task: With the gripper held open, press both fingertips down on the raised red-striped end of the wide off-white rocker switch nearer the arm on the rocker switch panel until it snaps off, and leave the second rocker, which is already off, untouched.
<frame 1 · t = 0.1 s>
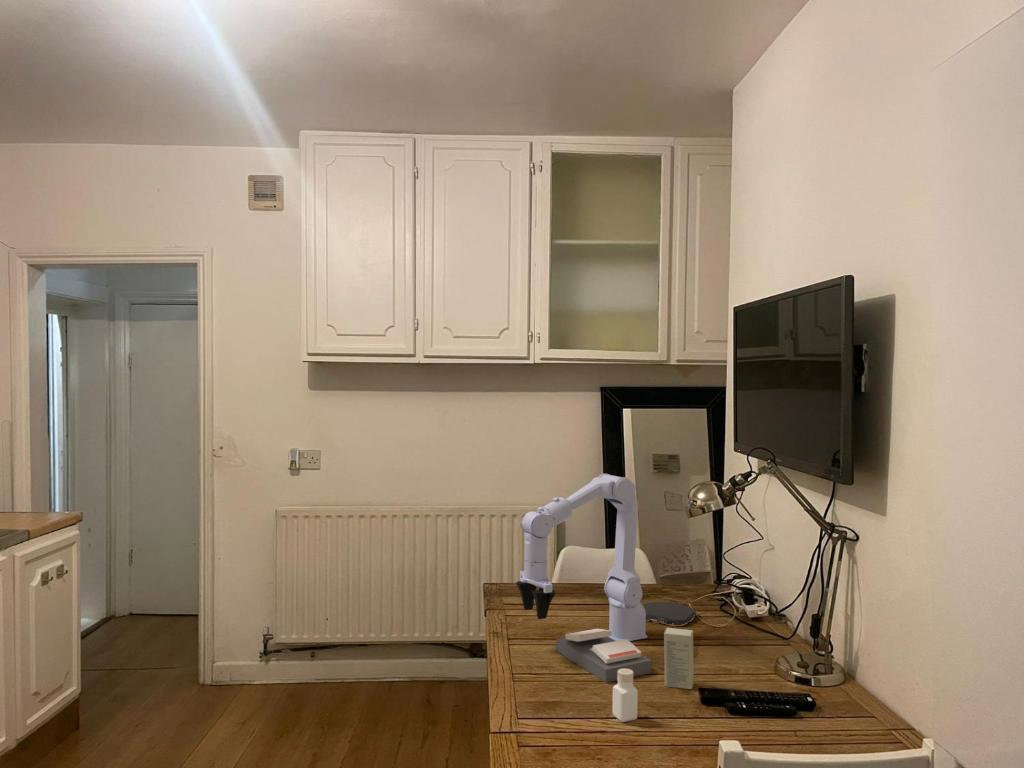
hand: (535, 613, 183), 10 cm above the table, tool pointing down, fingers open, 7 cm apart
rocker switch panel: (601, 661, 179), on the table
skincare box: (678, 685, 166), on the table
rocker b: (616, 651, 173), point 5 cm above the table, hinge at -12.0°
rocker a: (588, 634, 184), point 5 cm above the table, hinge at 12.0°
white pill bottle: (624, 718, 149), on the table
media streaming box: (667, 619, 214), on the table
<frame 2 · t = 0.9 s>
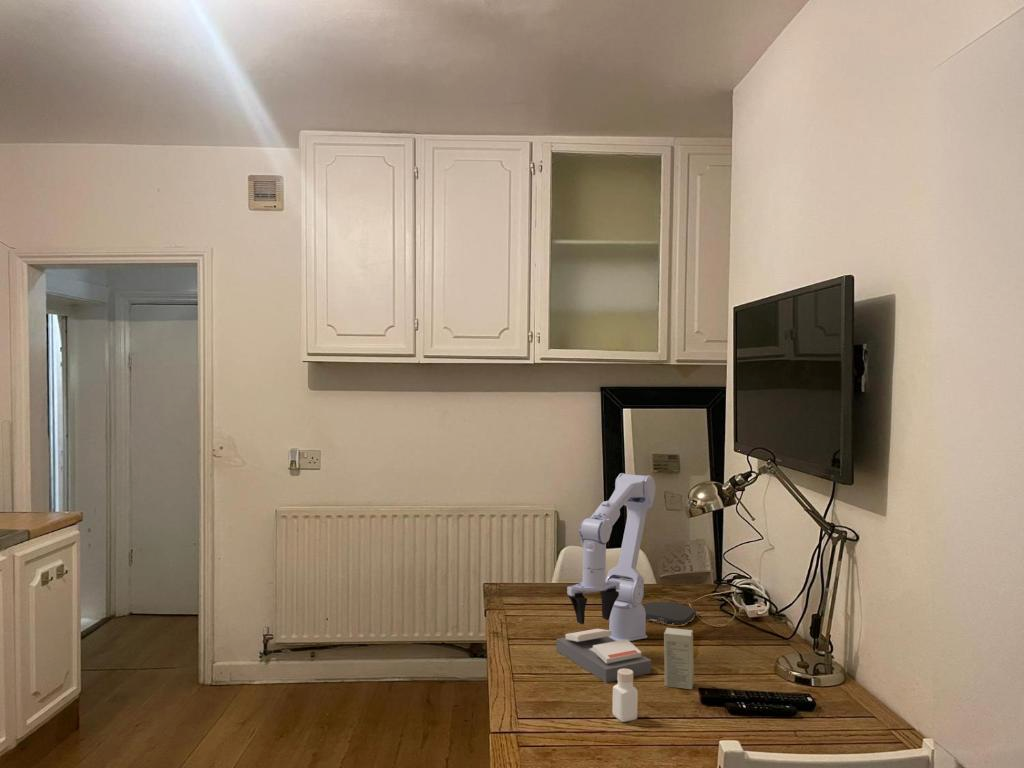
hand: (593, 620, 182), 9 cm above the table, tool pointing down, fingers open, 7 cm apart
nothing on the table moved.
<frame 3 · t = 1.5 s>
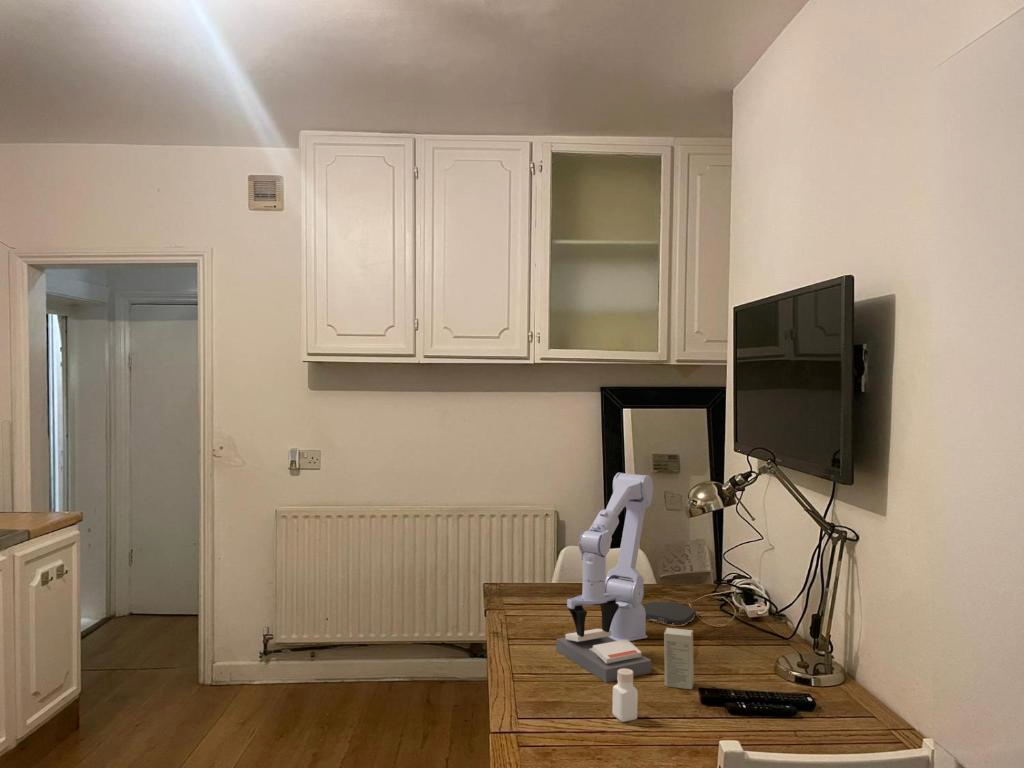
hand: (593, 633, 182), 6 cm above the table, tool pointing down
rocker a: (588, 634, 184), point 5 cm above the table, hinge at 12.0°, touching gripper
everything else where it was.
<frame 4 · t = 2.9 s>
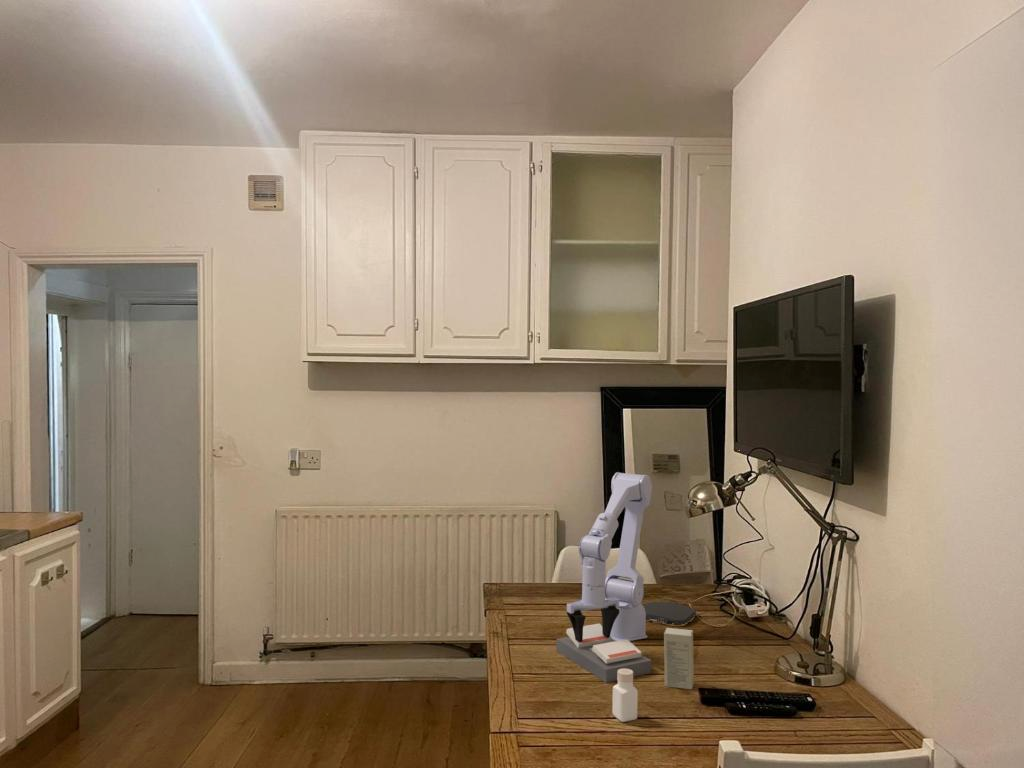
hand: (592, 638, 182), 5 cm above the table, tool pointing down
rocker a: (589, 635, 184), point 5 cm above the table, hinge at -19.5°, touching gripper, rocker switch panel
everything else where it was.
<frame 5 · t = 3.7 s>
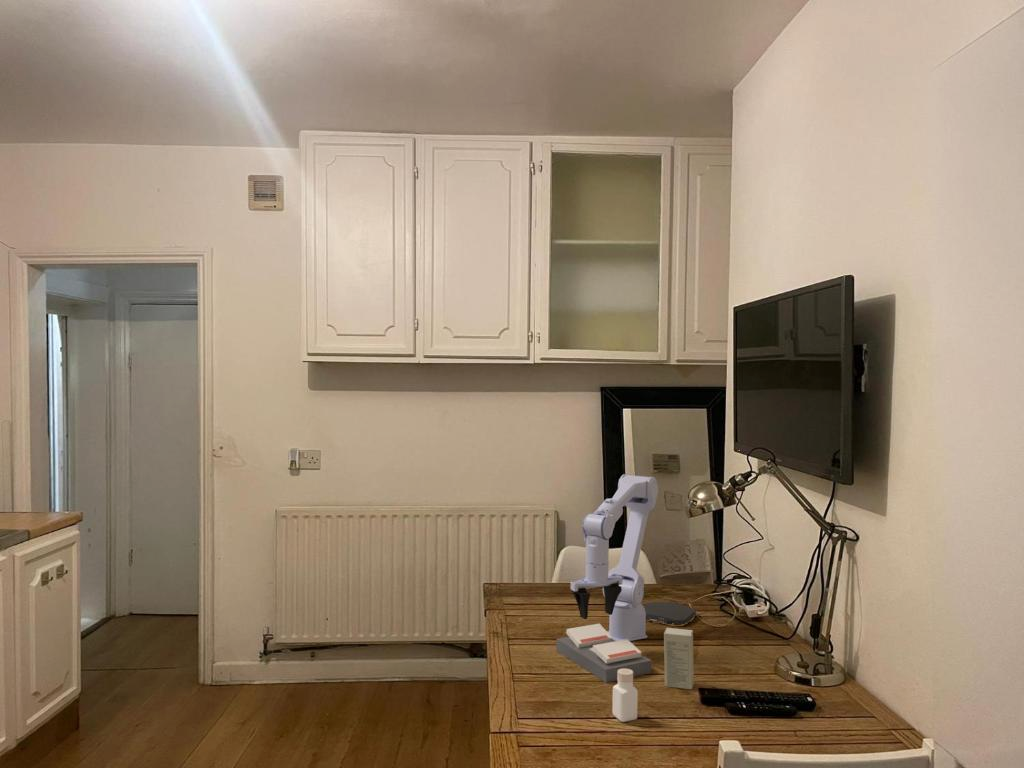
hand: (596, 615, 184), 10 cm above the table, tool pointing down, fingers open, 7 cm apart
rocker a: (589, 635, 184), point 5 cm above the table, hinge at -18.5°
everything else where it was.
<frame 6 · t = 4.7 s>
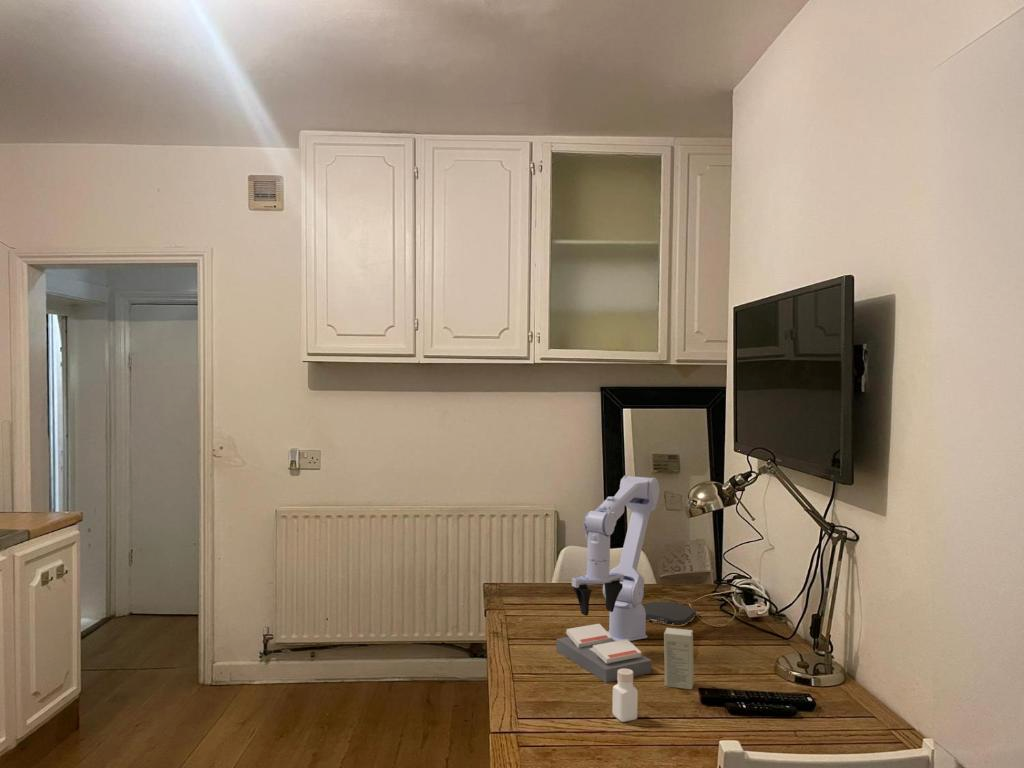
hand: (597, 612, 184), 10 cm above the table, tool pointing down, fingers open, 7 cm apart
rocker a: (589, 635, 184), point 5 cm above the table, hinge at -18.1°
everything else where it was.
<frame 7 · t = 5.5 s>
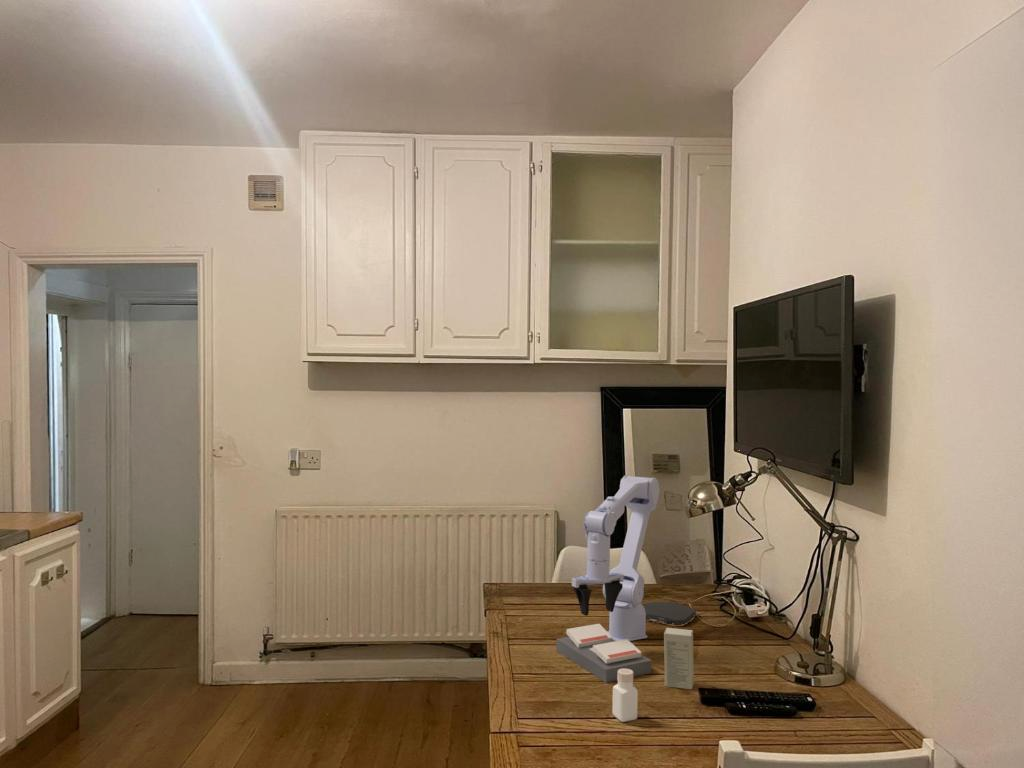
hand: (597, 612, 184), 10 cm above the table, tool pointing down, fingers open, 7 cm apart
nothing on the table moved.
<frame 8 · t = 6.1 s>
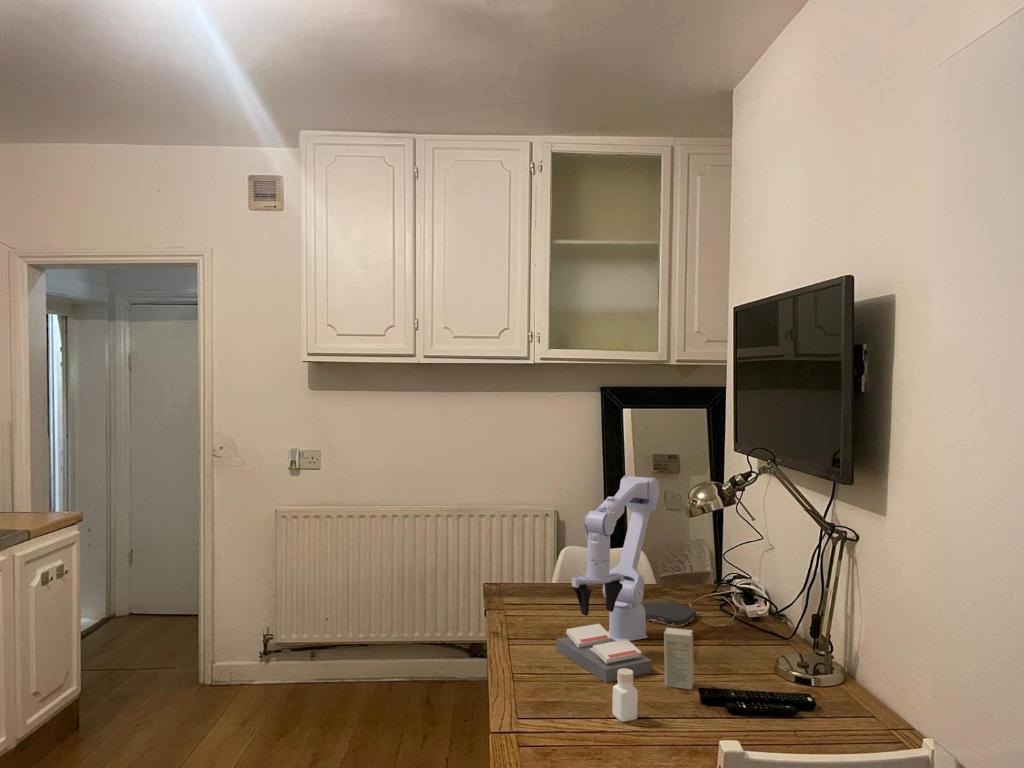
hand: (597, 612, 184), 10 cm above the table, tool pointing down, fingers open, 7 cm apart
nothing on the table moved.
at the end: rocker a at -18° (first picture: +12°); rocker b at -12° (first picture: -12°) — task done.
